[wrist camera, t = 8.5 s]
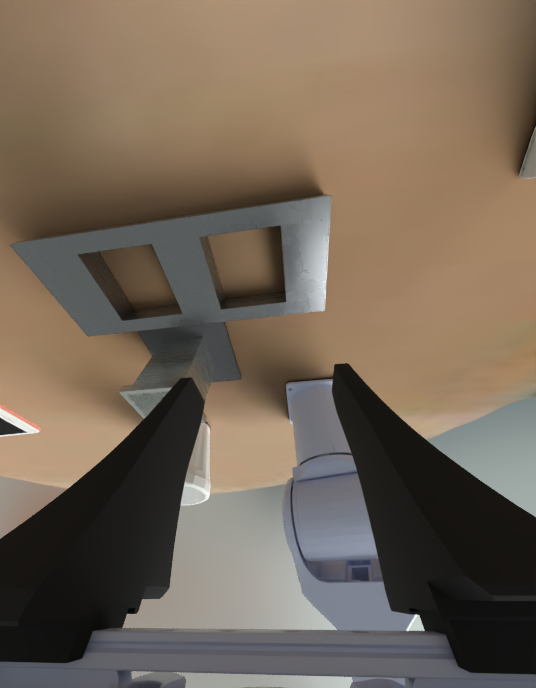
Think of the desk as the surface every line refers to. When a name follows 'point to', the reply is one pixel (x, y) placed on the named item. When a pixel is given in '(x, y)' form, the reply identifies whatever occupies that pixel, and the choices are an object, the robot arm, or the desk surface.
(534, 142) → the skincare box
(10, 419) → the cell phone
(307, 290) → the grey flat block
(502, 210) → the desk surface
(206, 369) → the grey boxy piece
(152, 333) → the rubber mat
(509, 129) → the desk surface
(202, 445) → the cup
